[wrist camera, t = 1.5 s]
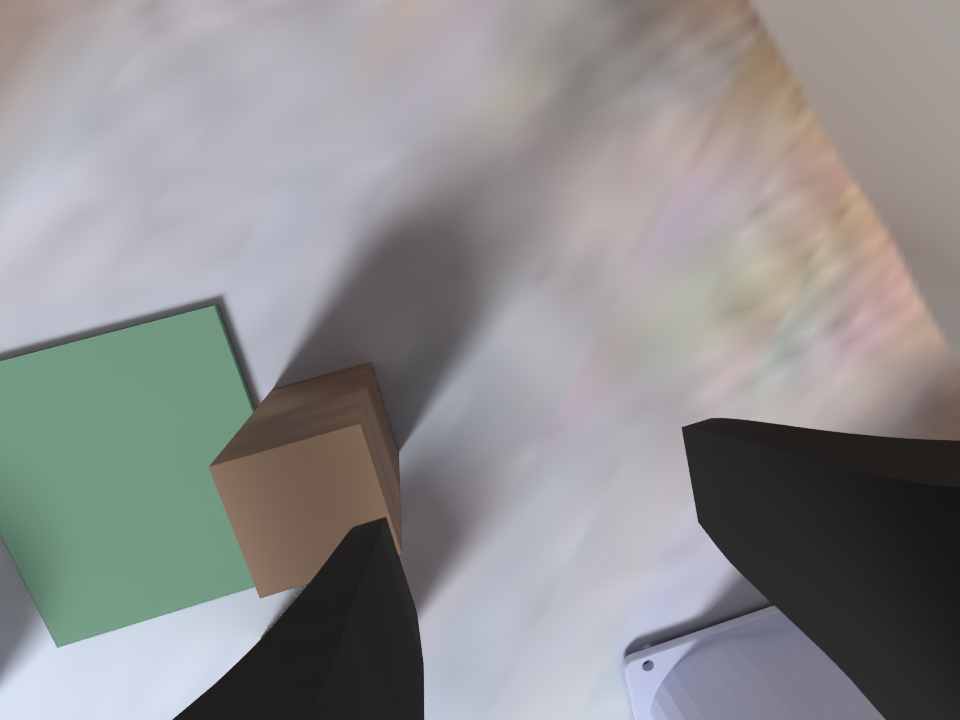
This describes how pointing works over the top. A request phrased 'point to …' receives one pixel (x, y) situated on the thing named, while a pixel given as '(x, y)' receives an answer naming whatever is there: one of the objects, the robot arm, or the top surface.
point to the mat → (121, 473)
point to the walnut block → (309, 475)
